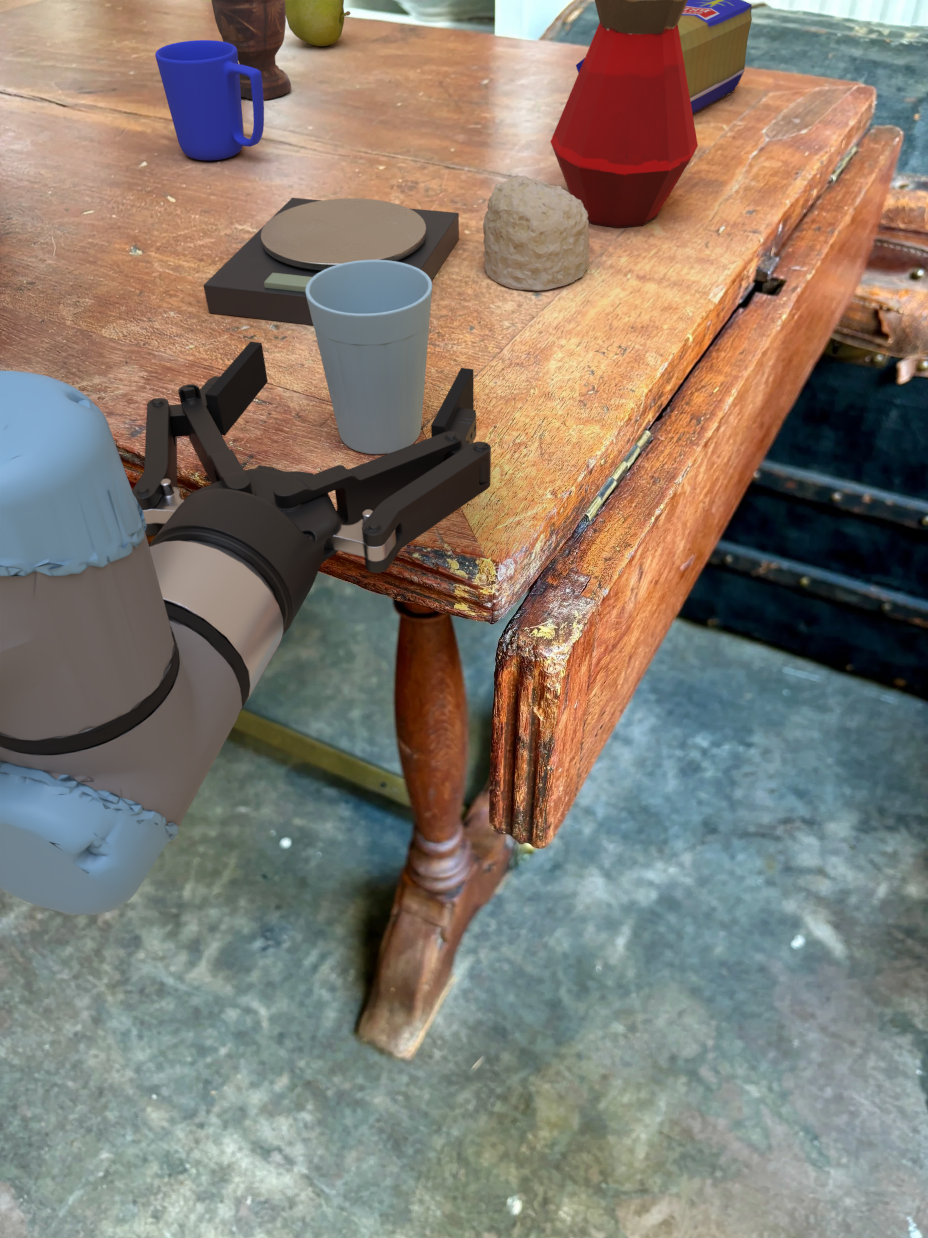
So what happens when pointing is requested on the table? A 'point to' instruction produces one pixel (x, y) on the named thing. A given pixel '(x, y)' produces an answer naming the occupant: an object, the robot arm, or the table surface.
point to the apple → (316, 20)
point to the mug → (209, 97)
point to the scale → (304, 273)
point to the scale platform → (342, 233)
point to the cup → (373, 349)
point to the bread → (712, 47)
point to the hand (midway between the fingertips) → (361, 374)
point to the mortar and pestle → (255, 40)
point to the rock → (535, 235)
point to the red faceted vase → (628, 115)
